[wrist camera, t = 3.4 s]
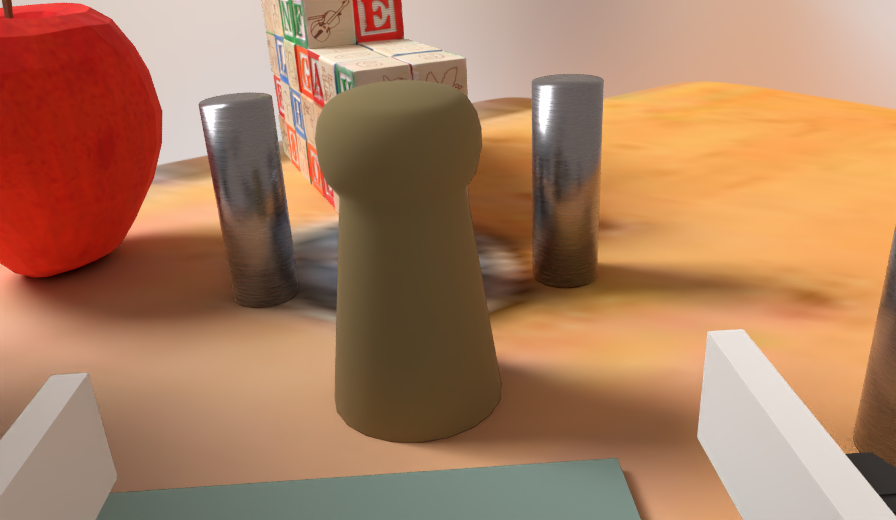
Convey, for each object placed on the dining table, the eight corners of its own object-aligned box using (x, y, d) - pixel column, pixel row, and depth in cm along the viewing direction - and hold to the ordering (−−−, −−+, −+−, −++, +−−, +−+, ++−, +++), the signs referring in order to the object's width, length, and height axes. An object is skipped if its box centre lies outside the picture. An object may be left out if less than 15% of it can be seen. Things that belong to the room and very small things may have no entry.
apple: (145, 310, 35) (71, 0, 29) (-113, 324, 35) (-235, 17, 29) (213, 217, 46) (168, -22, 40) (16, 228, 46) (-55, -10, 40)
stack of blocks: (474, 228, 43) (465, -7, 38) (365, 250, 40) (341, 5, 35) (360, 140, 61) (344, -26, 56) (281, 153, 59) (257, -19, 54)
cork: (531, 414, 26) (528, 90, 22) (359, 462, 24) (318, 119, 20) (463, 334, 31) (450, 60, 27) (317, 369, 30) (278, 80, 25)
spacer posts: (120, 538, 22) (35, 245, 18) (242, 276, 38) (210, 92, 34) (989, 477, 22) (1077, 180, 19) (747, 244, 38) (768, 60, 35)
